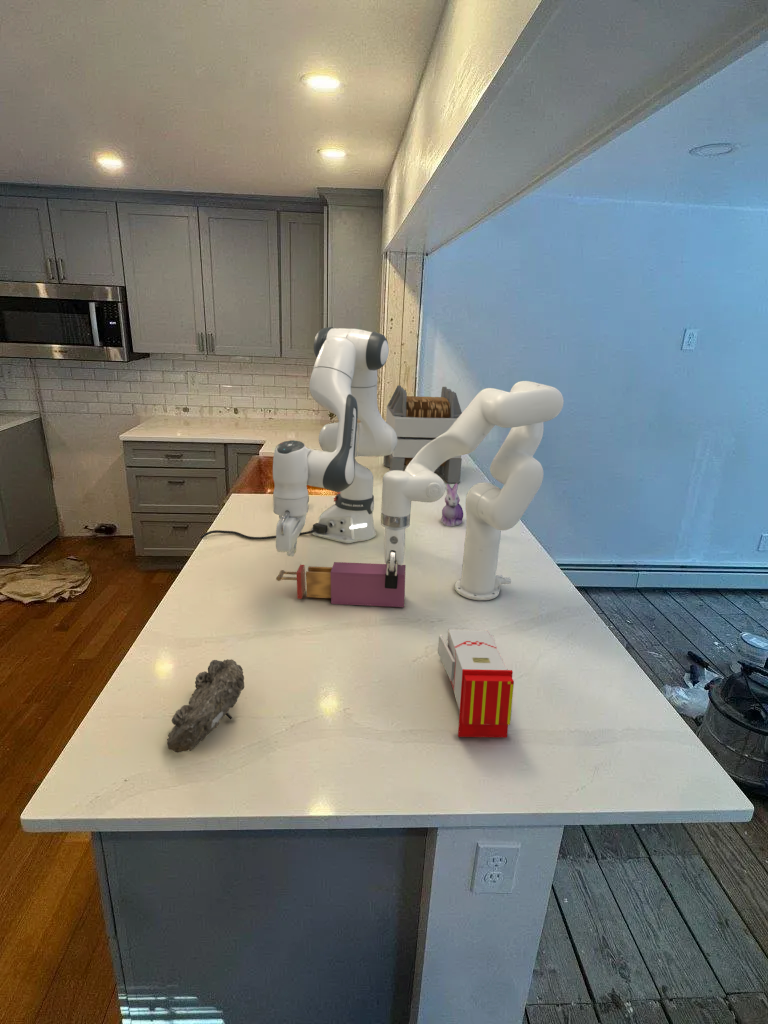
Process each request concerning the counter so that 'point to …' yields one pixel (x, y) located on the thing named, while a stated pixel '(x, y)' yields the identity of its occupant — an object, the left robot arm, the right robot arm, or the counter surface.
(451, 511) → the figurine
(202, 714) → the fossil
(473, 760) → the counter surface
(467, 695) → the toy
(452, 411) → the transformer
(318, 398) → the left robot arm
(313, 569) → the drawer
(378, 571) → the cabinet
